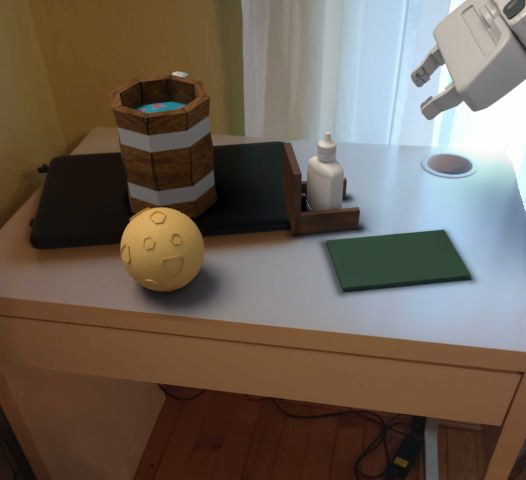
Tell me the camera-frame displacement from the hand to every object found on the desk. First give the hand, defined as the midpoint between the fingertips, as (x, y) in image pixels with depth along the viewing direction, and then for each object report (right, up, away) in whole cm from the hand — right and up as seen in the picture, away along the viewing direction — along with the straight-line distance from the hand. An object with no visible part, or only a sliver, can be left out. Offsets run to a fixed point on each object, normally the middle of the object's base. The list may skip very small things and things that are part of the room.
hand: (418, 97), depth 77 cm
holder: (-11, -12, +11) cm, 20 cm away
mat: (-2, -20, +3) cm, 20 cm away
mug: (-32, -6, +18) cm, 37 cm away
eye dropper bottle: (-11, -12, +11) cm, 20 cm away
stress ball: (-31, -23, +1) cm, 38 cm away
